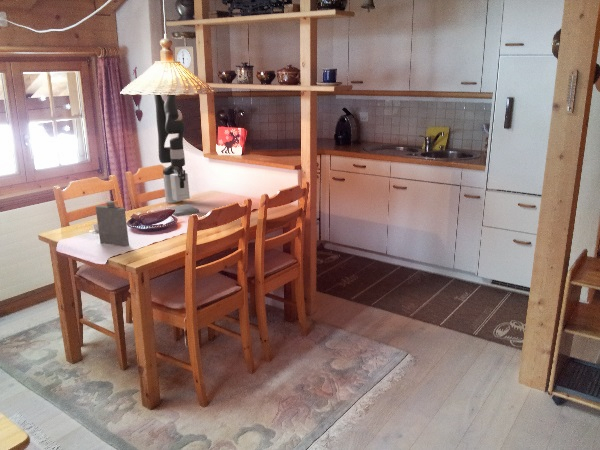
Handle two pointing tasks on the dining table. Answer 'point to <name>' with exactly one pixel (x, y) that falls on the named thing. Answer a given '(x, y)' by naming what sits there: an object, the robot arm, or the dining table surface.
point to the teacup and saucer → (95, 228)
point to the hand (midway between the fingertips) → (180, 186)
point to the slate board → (184, 209)
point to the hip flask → (112, 224)
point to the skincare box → (176, 190)
